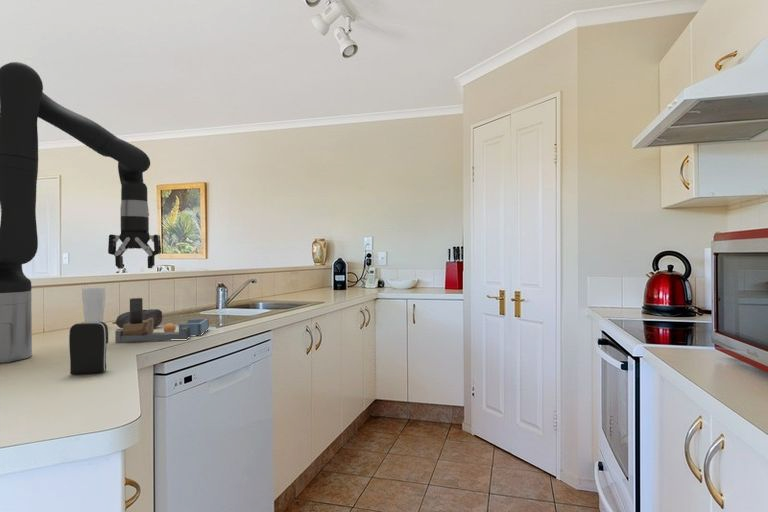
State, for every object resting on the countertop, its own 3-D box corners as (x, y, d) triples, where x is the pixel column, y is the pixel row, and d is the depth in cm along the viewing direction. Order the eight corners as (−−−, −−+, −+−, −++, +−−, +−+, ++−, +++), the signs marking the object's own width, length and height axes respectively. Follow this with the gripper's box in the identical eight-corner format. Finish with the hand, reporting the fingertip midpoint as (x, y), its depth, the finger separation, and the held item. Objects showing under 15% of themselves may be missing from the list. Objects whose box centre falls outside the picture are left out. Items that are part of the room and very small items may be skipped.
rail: (185, 340, 131) (185, 329, 131) (115, 342, 128) (115, 331, 128) (189, 337, 136) (189, 326, 136) (121, 339, 133) (121, 328, 133)
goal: (200, 335, 139) (200, 323, 138) (178, 336, 137) (178, 324, 137) (208, 329, 149) (208, 318, 149) (188, 330, 148) (188, 319, 148)
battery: (110, 369, 99) (110, 320, 99) (103, 373, 95) (103, 322, 95) (76, 370, 97) (76, 321, 97) (68, 375, 94) (68, 323, 94)
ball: (173, 334, 141) (173, 323, 141) (162, 335, 140) (161, 324, 140) (177, 332, 144) (177, 322, 144) (165, 333, 144) (165, 322, 144)
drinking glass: (93, 331, 147) (93, 288, 147) (77, 330, 148) (77, 287, 148) (110, 328, 154) (109, 286, 154) (94, 327, 155) (94, 286, 155)
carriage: (141, 341, 129) (140, 299, 129) (123, 341, 128) (123, 299, 128) (159, 331, 144) (159, 294, 144) (143, 332, 143) (143, 294, 143)
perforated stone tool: (112, 330, 149) (112, 311, 149) (119, 328, 154) (119, 309, 154) (157, 329, 151) (157, 310, 151) (163, 327, 156) (163, 308, 156)
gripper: (103, 214, 126) (104, 269, 126) (155, 215, 129) (155, 268, 129) (114, 216, 134) (115, 268, 134) (163, 217, 136) (164, 267, 136)
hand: (135, 268), depth 131 cm, fingers open, 8 cm apart
